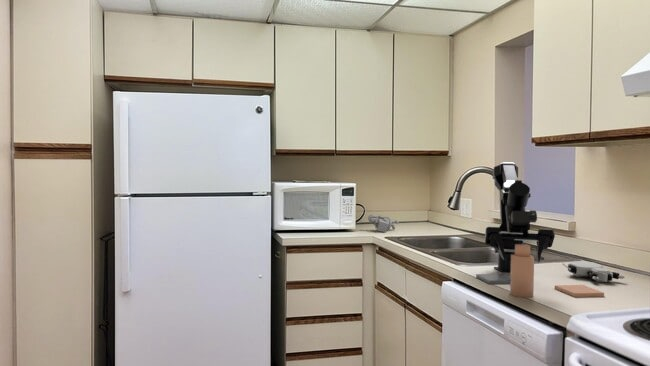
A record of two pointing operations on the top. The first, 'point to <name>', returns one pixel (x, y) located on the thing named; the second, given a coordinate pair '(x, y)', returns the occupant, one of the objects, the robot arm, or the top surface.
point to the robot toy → (592, 271)
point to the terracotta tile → (579, 290)
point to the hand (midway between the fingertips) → (521, 260)
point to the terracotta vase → (522, 272)
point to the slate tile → (494, 278)
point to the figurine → (382, 222)
